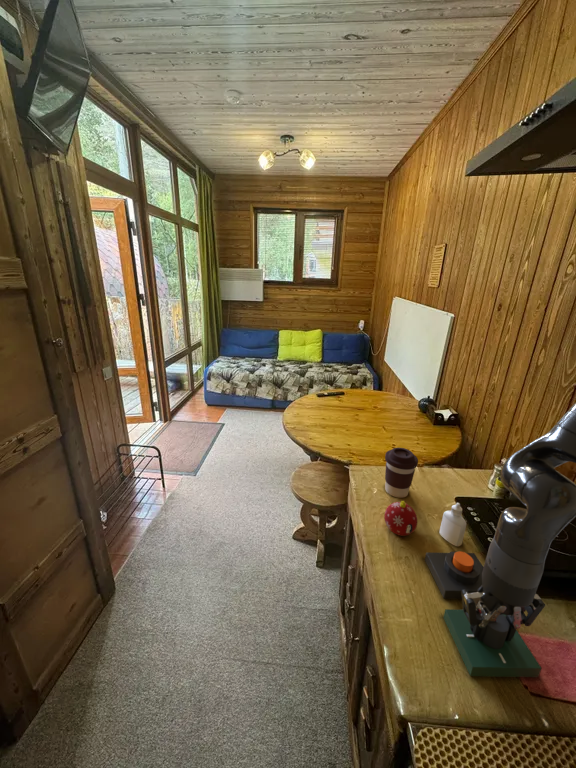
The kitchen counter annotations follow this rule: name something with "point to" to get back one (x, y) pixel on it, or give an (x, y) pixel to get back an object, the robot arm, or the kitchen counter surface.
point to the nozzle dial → (496, 632)
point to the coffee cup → (399, 471)
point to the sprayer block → (453, 574)
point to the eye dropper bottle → (453, 525)
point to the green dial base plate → (490, 651)
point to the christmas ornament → (400, 518)
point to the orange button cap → (463, 562)
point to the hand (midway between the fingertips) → (490, 635)
